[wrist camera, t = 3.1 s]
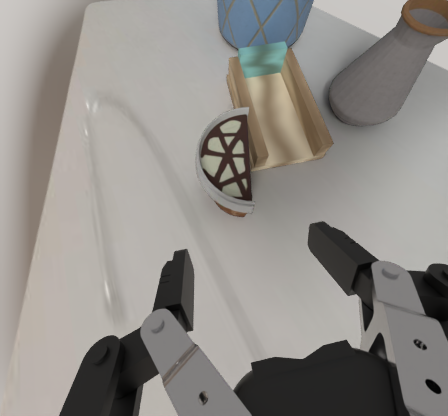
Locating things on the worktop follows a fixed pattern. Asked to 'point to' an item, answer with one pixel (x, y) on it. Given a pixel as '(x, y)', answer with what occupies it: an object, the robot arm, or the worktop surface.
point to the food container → (227, 162)
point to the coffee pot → (389, 66)
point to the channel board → (276, 107)
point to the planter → (262, 21)
